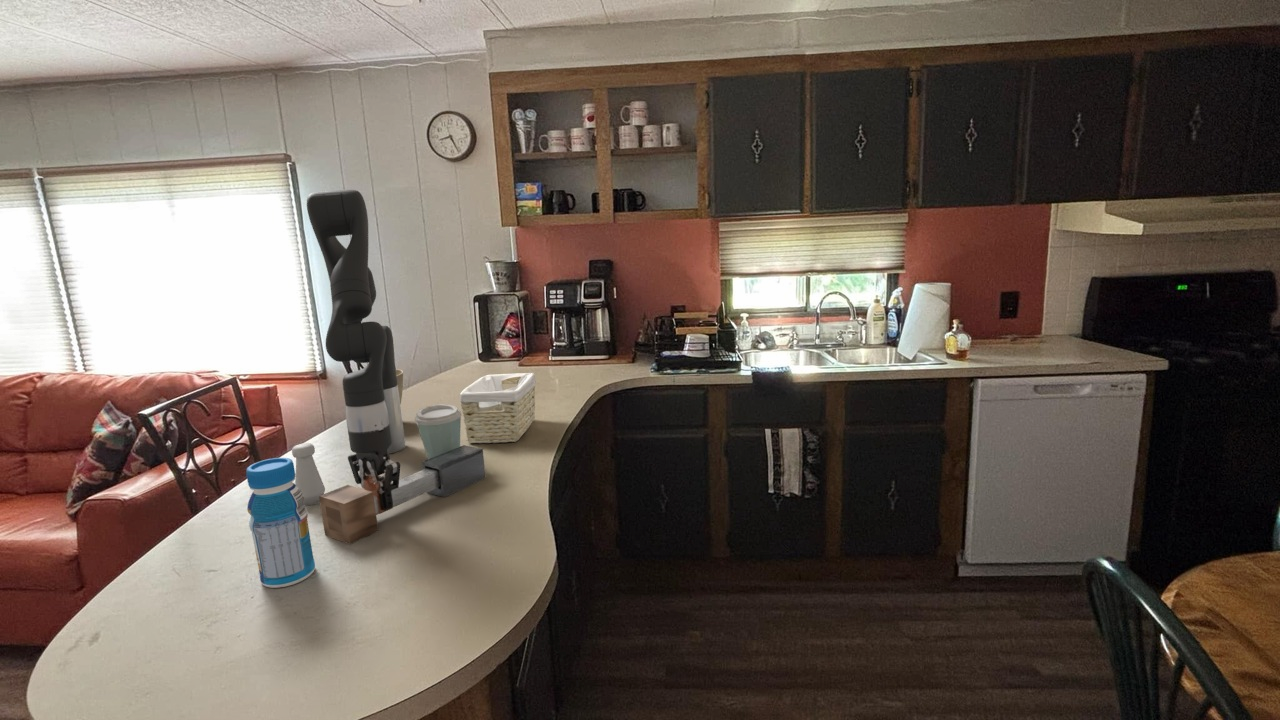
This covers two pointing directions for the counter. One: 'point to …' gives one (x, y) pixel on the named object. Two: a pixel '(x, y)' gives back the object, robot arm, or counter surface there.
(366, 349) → the robot arm
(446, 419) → the disposable coffee cup
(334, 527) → the cardboard box
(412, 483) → the grey square bar
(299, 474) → the salt shaker
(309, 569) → the beverage bottle
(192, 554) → the counter surface
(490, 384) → the storage basket
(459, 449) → the sleeve
